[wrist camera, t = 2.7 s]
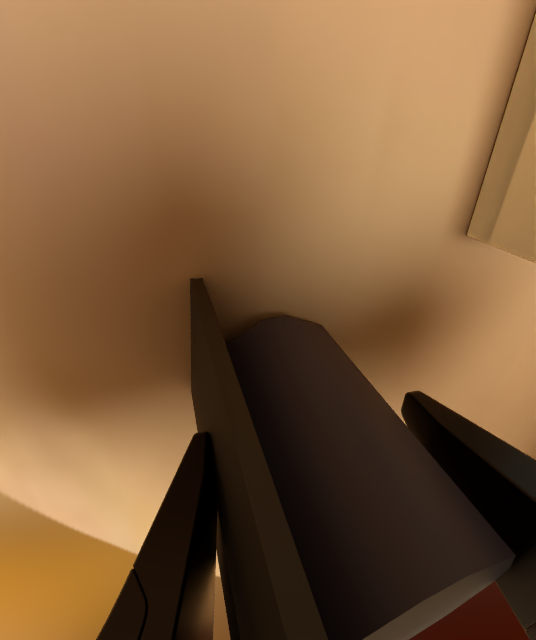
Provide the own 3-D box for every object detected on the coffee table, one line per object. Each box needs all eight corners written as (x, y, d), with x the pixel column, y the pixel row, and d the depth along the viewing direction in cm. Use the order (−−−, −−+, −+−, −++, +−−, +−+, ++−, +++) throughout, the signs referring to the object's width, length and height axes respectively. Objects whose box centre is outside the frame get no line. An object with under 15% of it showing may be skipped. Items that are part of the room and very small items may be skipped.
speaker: (141, 397, 12) (88, 1031, 4) (191, 273, 10) (361, 1129, 1) (292, 416, 15) (445, 754, 7) (353, 328, 13) (674, 661, 5)
